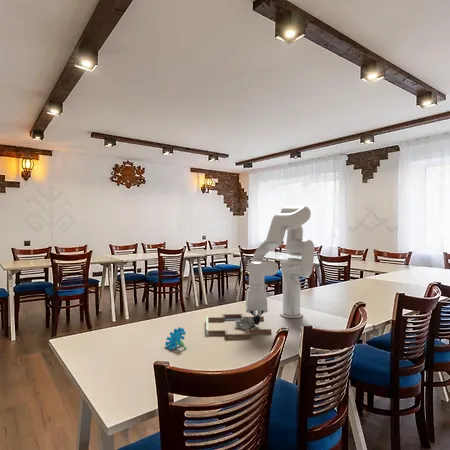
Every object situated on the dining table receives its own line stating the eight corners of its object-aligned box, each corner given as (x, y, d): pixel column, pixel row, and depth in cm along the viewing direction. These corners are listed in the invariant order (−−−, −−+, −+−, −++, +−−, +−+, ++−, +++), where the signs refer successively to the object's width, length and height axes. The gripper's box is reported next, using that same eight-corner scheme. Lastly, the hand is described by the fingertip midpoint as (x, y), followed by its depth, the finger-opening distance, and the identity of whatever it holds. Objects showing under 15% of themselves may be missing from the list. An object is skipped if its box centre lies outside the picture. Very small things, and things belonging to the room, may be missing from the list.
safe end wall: (206, 321, 176) (206, 316, 176) (208, 321, 176) (208, 316, 176) (206, 335, 154) (206, 330, 154) (208, 335, 154) (208, 330, 154)
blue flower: (160, 341, 142) (177, 322, 145) (169, 348, 145) (185, 330, 147) (170, 353, 133) (188, 333, 135) (180, 361, 135) (197, 341, 138)
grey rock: (246, 330, 161) (246, 322, 161) (233, 328, 165) (233, 319, 165) (257, 325, 169) (257, 317, 169) (245, 322, 174) (244, 314, 174)
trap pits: (224, 318, 181) (224, 317, 181) (240, 318, 181) (240, 317, 181) (227, 338, 150) (227, 337, 150) (247, 337, 150) (247, 337, 150)
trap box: (208, 318, 181) (208, 314, 181) (261, 317, 183) (261, 313, 183) (208, 339, 148) (208, 335, 148) (273, 338, 150) (273, 333, 150)
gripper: (270, 285, 170) (270, 321, 170) (240, 285, 169) (240, 322, 169) (273, 288, 162) (273, 326, 163) (242, 288, 161) (242, 326, 162)
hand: (256, 324), depth 166 cm, fingers closed
